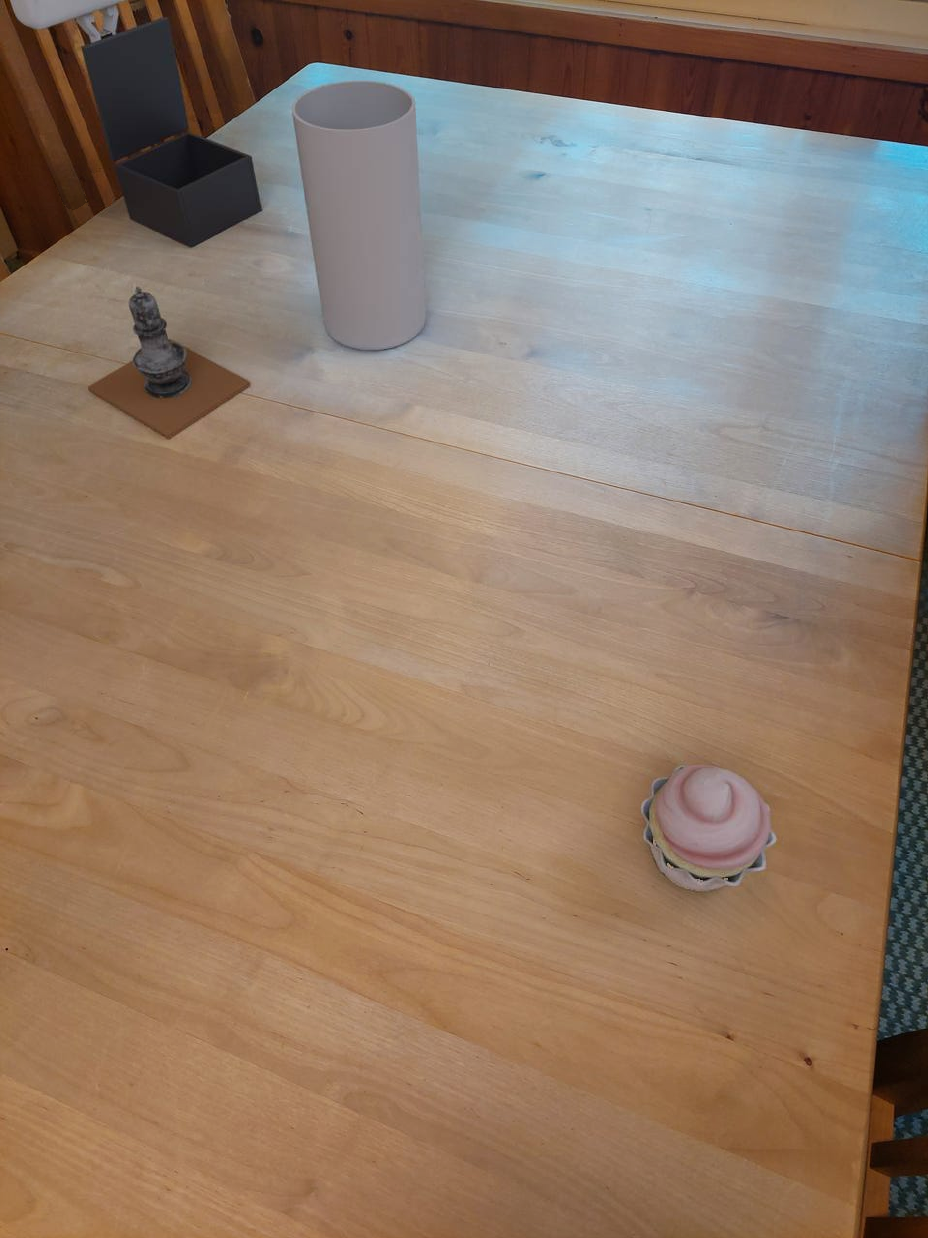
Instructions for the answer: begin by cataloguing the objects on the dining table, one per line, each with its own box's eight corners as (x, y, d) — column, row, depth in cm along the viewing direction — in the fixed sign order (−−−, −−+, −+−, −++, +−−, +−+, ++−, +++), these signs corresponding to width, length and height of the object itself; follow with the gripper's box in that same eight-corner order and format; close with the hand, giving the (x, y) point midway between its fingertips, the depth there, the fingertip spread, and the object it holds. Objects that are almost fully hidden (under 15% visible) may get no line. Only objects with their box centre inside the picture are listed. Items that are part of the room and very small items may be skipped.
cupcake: (755, 930, 62) (794, 869, 55) (621, 895, 64) (641, 832, 56) (764, 812, 68) (801, 742, 60) (641, 783, 70) (661, 711, 62)
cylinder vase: (438, 342, 108) (428, 121, 88) (335, 361, 106) (303, 138, 86) (412, 289, 115) (398, 74, 96) (316, 305, 113) (282, 88, 94)
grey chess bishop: (132, 395, 101) (97, 298, 92) (156, 365, 104) (124, 268, 95) (180, 402, 100) (150, 305, 91) (202, 371, 104) (175, 275, 94)
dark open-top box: (262, 210, 129) (251, 155, 123) (191, 247, 123) (176, 192, 117) (201, 184, 134) (188, 130, 129) (130, 219, 128) (113, 164, 122)
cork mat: (88, 391, 103) (87, 386, 102) (170, 342, 108) (169, 338, 108) (168, 439, 97) (167, 435, 96) (250, 385, 103) (249, 381, 102)
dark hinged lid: (168, 17, 117) (164, 15, 117) (84, 48, 110) (80, 46, 111) (189, 128, 128) (185, 126, 128) (114, 162, 122) (110, 160, 122)
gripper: (122, -106, 114) (153, 20, 125) (-21, -67, 104) (26, 66, 115) (154, -98, 111) (183, 29, 122) (11, -58, 101) (56, 77, 112)
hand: (106, 47), depth 118 cm, fingers closed
